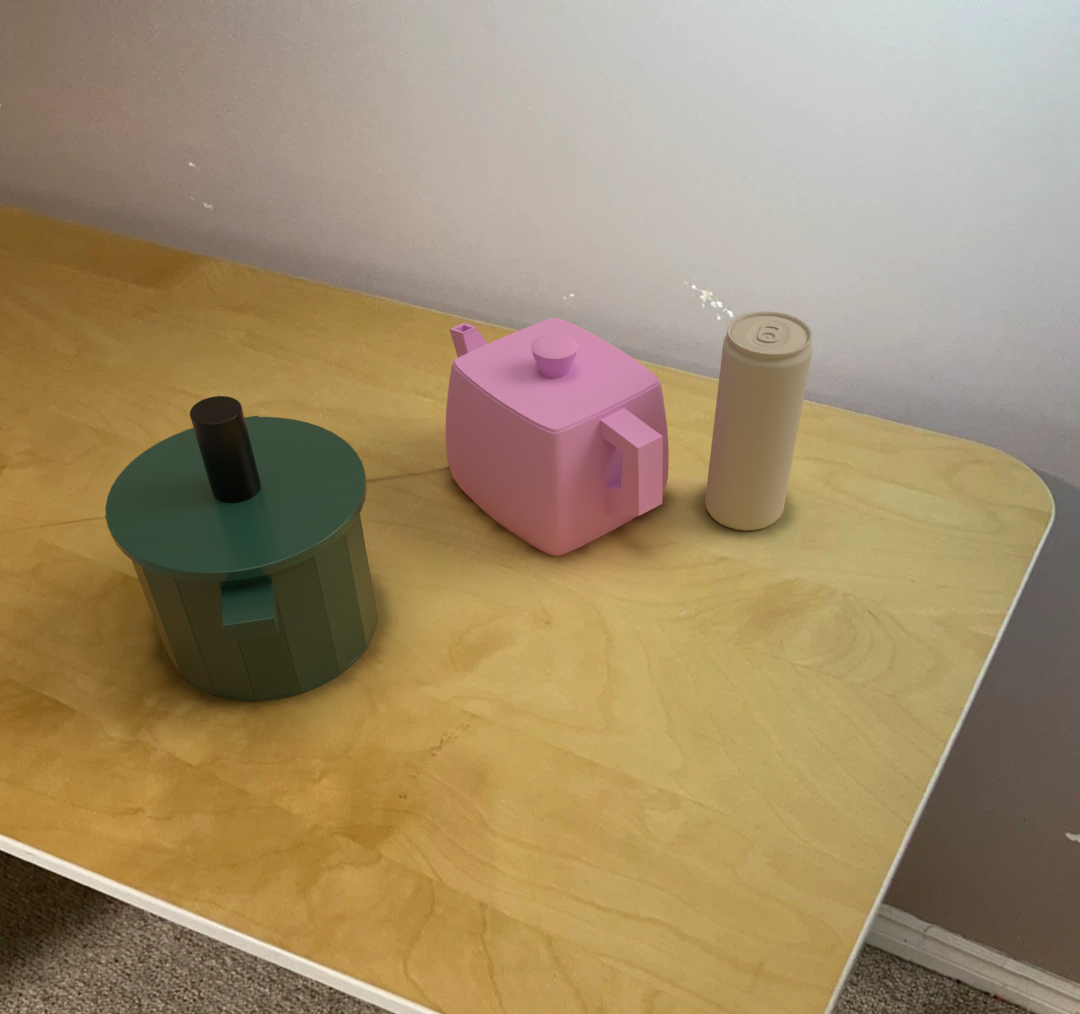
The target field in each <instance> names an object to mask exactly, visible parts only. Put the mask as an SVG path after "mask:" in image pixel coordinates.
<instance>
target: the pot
mask: <svg viewBox="0 0 1080 1014" xmlns="http://www.w3.org/2000/svg"><path fill="white" fill-rule="evenodd" d="M245 417H246V416H244V418H245ZM250 417H260V416H259V415H252V416H250ZM361 517H362V516H361V513H360V514H359V515H358V517H357V519H356V521H355V522H354V523H353V524H352V526H351V527H350V528H349V529H348V531H347V532H346V533H345V534H343V535H342V536H341V537H340V538H339V539H338V540H337V541H336V542H335V543H333V544H332V545H331V546H329V547H328V548H327V549H325V550H324V551H322V552H320V553H319V554H317V555H315V556H314V557H312V558H310V559H308V560H306V561H304V562H302V563H299V564H297V565H295V566H292V567H290V568H287V569H284V570H282V571H279V572H275V573H272V574H268V575H264V576H260V577H255V578H250V579H245V580H237V581H227V582H198V581H187V580H181V579H175V578H171V577H167V576H164V575H160V574H157V573H155V572H152V571H150V570H147V569H145V568H143V567H142V566H140V565H138V564H136V563H135V562H133V561H132V560H131V562H132V564H133V568H134V571H135V572H136V575H137V578H138V581H139V583H140V586H141V589H142V591H143V595H144V597H145V599H146V602H147V604H148V607H149V610H150V613H151V615H152V618H153V620H154V624H155V626H156V629H157V631H158V634H159V636H160V639H161V642H162V644H163V648H164V650H165V652H166V654H167V656H168V657H169V659H170V661H171V662H172V664H173V666H174V668H175V669H176V671H177V672H178V674H180V675H181V677H182V678H184V680H186V681H187V682H188V684H191V685H192V686H194V687H195V688H197V689H198V690H201V691H203V692H205V693H207V694H209V695H212V696H216V697H218V698H223V699H228V700H234V701H242V702H266V701H275V700H282V699H287V698H292V697H295V696H299V695H302V694H304V693H308V692H310V691H313V690H315V689H318V688H321V687H323V686H324V685H326V684H328V683H330V682H331V681H333V680H335V679H337V678H339V676H341V675H342V674H344V673H345V672H346V671H348V670H349V668H351V667H352V666H353V665H354V664H356V662H357V661H359V659H360V658H361V657H362V656H363V655H364V653H365V652H366V650H367V649H368V648H369V647H370V644H371V642H372V639H373V638H374V635H375V632H376V628H377V622H378V618H379V617H378V611H377V605H376V599H375V594H374V593H375V592H374V588H373V582H372V577H371V576H372V575H371V570H370V564H369V558H368V551H367V548H366V547H367V546H366V541H365V535H364V530H363V524H362V518H361Z"/></svg>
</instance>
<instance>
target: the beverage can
mask: <svg viewBox="0 0 1080 1014" xmlns="http://www.w3.org/2000/svg"><path fill="white" fill-rule="evenodd" d="M812 340H813V332H812V329H811V327H810V326H809V325H808V324H807V323H806V322H805V321H803V320H802V319H801V318H799V317H796V316H794V315H791V314H788V313H784V312H780V311H770V310H763V311H753V312H747V313H744V314H742V315H739V316H737V317H736V318H734V319H733V320H731V321H730V323H729V324H728V326H727V329H726V335H725V336H724V338H723V343H722V350H721V357H720V358H721V360H720V367H719V368H720V369H719V375H718V385H717V394H716V402H715V410H714V411H715V412H714V421H713V430H712V438H711V445H710V455H709V465H708V473H707V481H706V490H705V499H704V505H705V508H706V511H707V512H708V514H709V515H710V516H711V518H712V519H713V520H715V522H717V523H718V524H720V525H721V526H724V527H726V528H729V529H732V530H736V531H747V532H748V531H758V530H762V529H766V528H767V527H769V526H772V525H773V524H774V523H775V522H777V521H778V520H779V519H780V518H781V517H782V515H783V512H784V510H785V503H786V498H787V493H788V487H789V483H790V482H789V481H790V475H791V470H792V464H793V459H794V453H795V448H796V442H797V438H798V437H797V436H798V432H799V426H800V422H801V421H800V420H801V415H802V410H803V404H804V400H805V395H806V394H805V393H806V388H807V383H808V379H809V378H808V377H809V373H810V366H811V360H812V355H813V343H812Z"/></svg>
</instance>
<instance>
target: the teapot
mask: <svg viewBox="0 0 1080 1014" xmlns="http://www.w3.org/2000/svg"><path fill="white" fill-rule="evenodd" d="M449 333H450V336H451V340H452V343H453V346H454V350H455V353H456V356H457V358H455V359H454V360H453V361H452V363H451V368H450V374H449V382H448V389H447V397H446V407H445V408H446V410H445V448H446V449H445V450H446V460H447V464H448V467H449V470H450V472H451V473H450V474H451V475H452V477H453V480H454V482H455V483H456V484H457V486H458V487H459V488H460V490H462V491H463V493H464V494H465V495H466V496H467V497H468V498H469V499H470V500H472V501H473V502H474V503H475V504H476V505H477V506H478V507H479V508H480V509H481V510H482V511H483V512H484V513H486V515H488V516H489V517H490V518H491V519H492V520H494V521H495V522H496V523H498V524H499V525H500V526H502V528H505V529H506V530H507V531H509V532H511V533H512V534H513V535H515V536H517V538H520V539H521V540H523V541H524V542H526V543H527V544H529V545H531V546H532V547H533V548H535V549H537V550H539V551H541V552H543V553H545V554H547V555H549V556H553V557H560V556H564V555H566V554H569V553H571V552H573V551H576V550H578V549H579V548H581V547H583V546H585V545H587V544H589V543H591V542H593V541H594V540H597V539H599V538H601V537H603V536H605V535H606V534H609V533H610V532H612V531H614V530H616V529H618V528H620V527H621V526H623V525H625V524H627V523H629V522H630V521H632V520H634V519H635V518H638V517H640V516H642V515H644V514H646V513H648V512H649V511H651V510H653V509H655V508H657V507H659V506H661V505H663V495H664V493H665V489H666V487H667V484H668V479H669V468H670V466H669V465H670V464H669V463H670V458H669V457H670V451H669V449H670V448H669V447H670V446H669V431H668V423H667V414H666V407H665V401H664V394H663V388H662V387H663V386H662V383H661V380H660V379H659V377H657V375H655V374H654V373H653V372H652V371H651V370H650V369H649V368H647V367H646V366H645V365H643V364H642V363H641V362H639V361H638V360H636V359H635V358H633V357H632V356H630V355H629V354H627V353H626V352H625V351H623V350H621V349H620V348H618V347H617V346H615V345H613V344H612V343H609V342H608V341H607V340H604V339H603V338H601V337H599V336H597V335H595V334H594V333H592V332H590V331H588V330H586V329H584V328H582V327H580V326H579V325H576V324H574V323H571V322H569V321H567V320H564V319H562V318H558V317H551V318H548V319H545V320H542V321H539V322H537V323H535V324H531V325H529V326H527V327H524V328H522V329H519V330H517V331H515V332H512V333H510V334H507V335H505V336H503V337H500V338H498V339H496V340H493V341H491V342H487V340H486V339H485V338H484V336H483V335H482V334H481V333H480V331H479V327H478V326H476V325H472V324H469V323H465V322H462V323H460V324H458V325H454V326H453V327H451V328H449Z"/></svg>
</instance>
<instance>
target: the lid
mask: <svg viewBox="0 0 1080 1014" xmlns="http://www.w3.org/2000/svg"><path fill="white" fill-rule="evenodd" d="M244 414H245V413H244V410H243V406H242V404H241V402H240V401H239V400H238V399H236V398H235V397H232V396H227V395H216V396H210V397H207V398H204V399H201V400H199V401H198V402H196V403H195V404H194V405H193V406H192V407H191V409H190V410H189V417H190V420H191V424H192V428H188V429H185V430H183V431H180V432H177V433H175V434H173V435H170V436H168V437H167V438H164V439H163V440H160V441H159V442H157V443H155V444H154V445H152V446H150V447H149V448H147V449H146V450H144V451H143V452H142V453H140V454H139V455H137V456H136V457H135V458H134V459H133V460H132V461H130V463H129V464H128V465H126V466H125V467H124V469H122V471H120V473H119V474H118V476H117V477H116V479H115V480H114V482H113V483H112V485H111V487H110V489H109V492H108V494H107V497H106V503H105V508H104V509H105V520H106V521H105V522H106V525H107V529H108V531H109V533H110V536H111V538H112V540H113V542H114V544H115V545H116V546H117V548H118V549H119V550H120V551H121V553H123V555H125V556H126V557H127V558H128V559H130V560H131V562H132V561H133V562H135V563H136V564H138V565H140V566H142V567H143V568H145V569H147V570H150V571H152V572H155V573H157V574H160V575H164V576H167V577H171V578H175V579H181V580H187V581H198V582H227V581H237V580H245V579H250V578H255V577H260V576H264V575H268V574H272V573H275V572H279V571H282V570H284V569H287V568H290V567H292V566H295V565H297V564H299V563H302V562H304V561H306V560H308V559H310V558H312V557H314V556H315V555H317V554H319V553H320V552H322V551H324V550H325V549H327V548H328V547H329V546H331V545H332V544H333V543H335V542H336V541H337V540H338V539H339V538H340V537H341V536H342V535H343V534H345V533H346V532H347V531H348V529H349V528H350V527H351V526H352V524H353V523H354V522H355V521H356V519H357V517H358V515H359V514H360V515H361V513H362V510H363V507H364V504H365V501H366V497H367V491H368V487H367V475H366V470H365V467H364V464H363V461H362V459H361V458H360V456H359V454H358V452H357V451H356V450H355V449H354V448H353V447H352V446H351V444H350V443H348V442H347V441H346V440H345V439H344V438H343V437H341V436H339V435H338V434H336V433H335V432H333V431H331V430H329V429H327V428H325V427H322V426H320V425H316V424H314V423H310V422H307V421H304V420H298V419H294V418H286V417H277V416H259V417H251V416H245V415H244ZM244 417H245V418H244ZM133 562H132V563H133Z"/></svg>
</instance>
